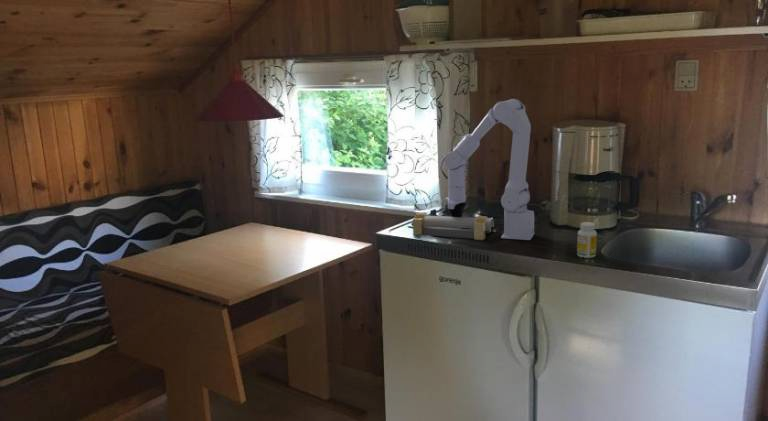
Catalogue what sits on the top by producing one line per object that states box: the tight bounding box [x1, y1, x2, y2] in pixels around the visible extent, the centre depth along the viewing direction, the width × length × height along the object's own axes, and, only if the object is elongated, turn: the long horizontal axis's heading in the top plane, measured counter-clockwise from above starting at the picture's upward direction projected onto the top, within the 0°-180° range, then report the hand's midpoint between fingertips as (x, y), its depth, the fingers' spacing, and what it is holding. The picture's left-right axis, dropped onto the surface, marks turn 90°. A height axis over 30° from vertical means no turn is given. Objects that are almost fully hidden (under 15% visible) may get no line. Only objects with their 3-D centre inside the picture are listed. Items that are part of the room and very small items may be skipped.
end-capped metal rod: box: [412, 211, 488, 241], centre depth 212 cm, size 24×6×6 cm, turn 67°
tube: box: [424, 215, 495, 232], centre depth 217 cm, size 5×5×25 cm
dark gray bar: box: [422, 226, 474, 240], centre depth 212 cm, size 24×2×2 cm, turn 67°
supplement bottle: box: [576, 221, 598, 259], centre depth 186 cm, size 5×5×10 cm
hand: (457, 224), depth 220 cm, fingers closed
